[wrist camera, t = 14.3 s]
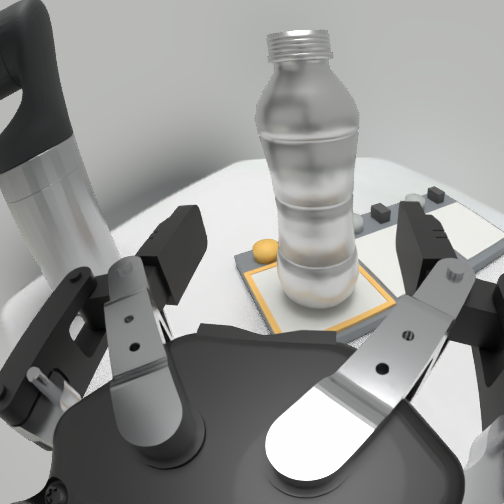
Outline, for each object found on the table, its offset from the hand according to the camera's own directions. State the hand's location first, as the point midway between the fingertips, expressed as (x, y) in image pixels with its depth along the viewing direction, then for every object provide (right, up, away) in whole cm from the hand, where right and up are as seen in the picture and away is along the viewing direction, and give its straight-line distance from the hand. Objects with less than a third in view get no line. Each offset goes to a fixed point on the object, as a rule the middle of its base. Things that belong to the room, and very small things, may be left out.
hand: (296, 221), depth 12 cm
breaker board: (+13, -2, +18) cm, 22 cm away
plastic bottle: (+4, -5, +14) cm, 16 cm away
